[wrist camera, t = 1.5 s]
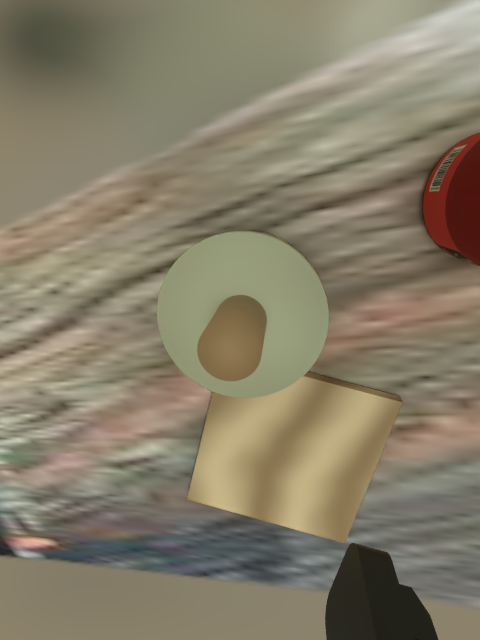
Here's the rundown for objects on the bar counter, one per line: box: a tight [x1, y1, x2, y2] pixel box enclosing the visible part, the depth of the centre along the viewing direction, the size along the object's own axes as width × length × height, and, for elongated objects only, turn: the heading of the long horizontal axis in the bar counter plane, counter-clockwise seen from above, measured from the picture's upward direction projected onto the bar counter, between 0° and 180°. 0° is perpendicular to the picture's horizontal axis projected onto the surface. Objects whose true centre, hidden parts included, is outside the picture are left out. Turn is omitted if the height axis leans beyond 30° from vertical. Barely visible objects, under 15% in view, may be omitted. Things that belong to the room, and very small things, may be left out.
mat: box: [187, 372, 403, 543], centre depth 33 cm, size 14×14×1 cm
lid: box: [157, 231, 329, 398], centre depth 21 cm, size 10×10×6 cm
